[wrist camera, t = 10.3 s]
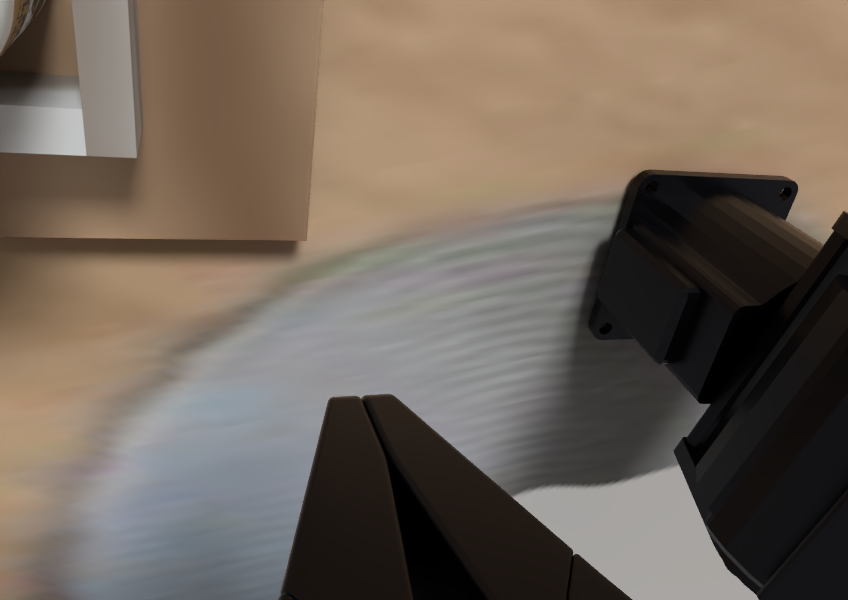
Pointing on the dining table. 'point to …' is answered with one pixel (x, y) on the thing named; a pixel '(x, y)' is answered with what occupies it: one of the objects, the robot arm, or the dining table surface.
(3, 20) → the pill bottle
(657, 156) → the dining table surface
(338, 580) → the robot arm
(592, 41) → the dining table surface
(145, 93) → the board
